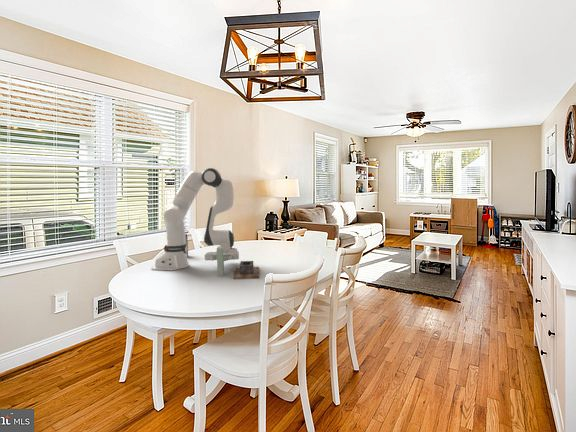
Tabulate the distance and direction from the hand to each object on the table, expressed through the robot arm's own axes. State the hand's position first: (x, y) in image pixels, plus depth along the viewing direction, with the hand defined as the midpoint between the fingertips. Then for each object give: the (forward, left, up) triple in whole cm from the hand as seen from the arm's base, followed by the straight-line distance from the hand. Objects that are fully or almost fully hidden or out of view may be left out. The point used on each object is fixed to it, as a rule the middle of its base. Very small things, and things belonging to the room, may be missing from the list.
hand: (220, 258), depth 193 cm
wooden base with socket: (+15, -1, -9) cm, 17 cm away
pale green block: (0, -1, -9) cm, 9 cm away
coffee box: (-35, +51, -9) cm, 63 cm away
